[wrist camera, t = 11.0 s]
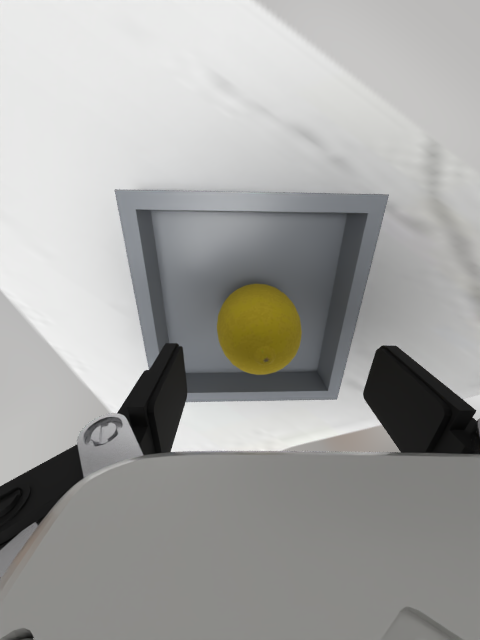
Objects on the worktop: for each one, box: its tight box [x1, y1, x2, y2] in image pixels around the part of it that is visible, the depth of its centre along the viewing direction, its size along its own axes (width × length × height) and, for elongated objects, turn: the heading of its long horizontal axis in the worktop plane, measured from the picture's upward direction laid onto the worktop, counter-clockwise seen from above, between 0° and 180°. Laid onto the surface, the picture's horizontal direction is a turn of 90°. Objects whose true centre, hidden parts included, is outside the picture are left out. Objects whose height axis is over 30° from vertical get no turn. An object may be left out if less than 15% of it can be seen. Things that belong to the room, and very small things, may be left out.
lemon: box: [217, 284, 302, 375], centre depth 15 cm, size 6×6×8 cm
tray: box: [115, 190, 389, 402], centre depth 18 cm, size 16×16×4 cm
